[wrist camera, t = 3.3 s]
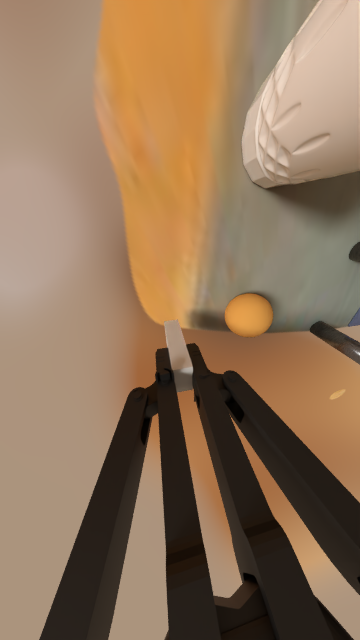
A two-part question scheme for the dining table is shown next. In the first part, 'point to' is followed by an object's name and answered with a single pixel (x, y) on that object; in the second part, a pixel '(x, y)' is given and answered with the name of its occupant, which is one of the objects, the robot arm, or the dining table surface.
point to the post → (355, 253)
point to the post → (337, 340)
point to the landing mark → (355, 319)
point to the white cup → (309, 103)
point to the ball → (248, 315)
